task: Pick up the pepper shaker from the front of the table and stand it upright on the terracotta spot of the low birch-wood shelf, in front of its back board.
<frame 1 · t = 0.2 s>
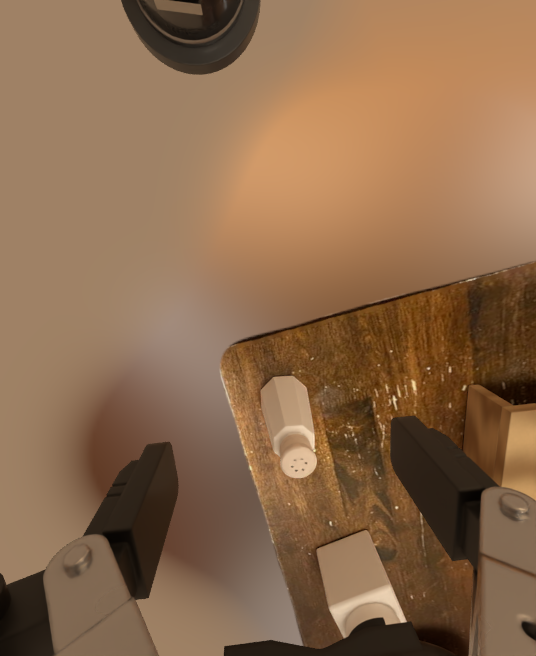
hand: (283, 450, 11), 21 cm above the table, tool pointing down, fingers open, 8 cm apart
medicine bottle: (349, 555, 41), on the table
pepper shaker: (283, 395, 34), on the table
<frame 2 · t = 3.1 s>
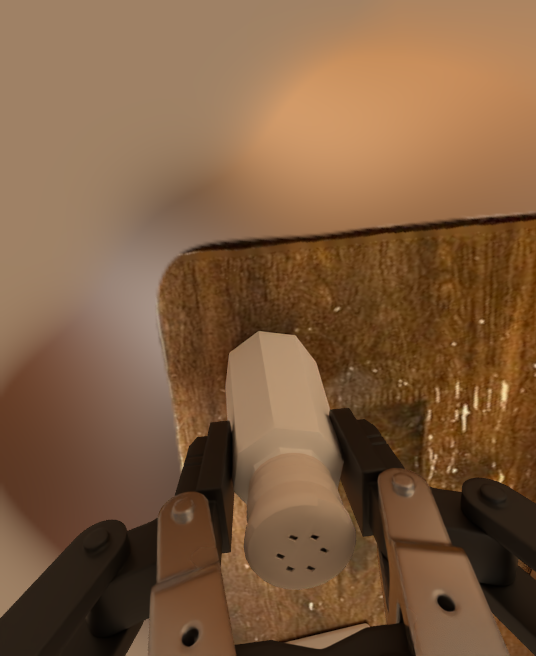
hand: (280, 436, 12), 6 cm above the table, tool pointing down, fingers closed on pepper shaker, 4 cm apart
pepper shaker: (270, 372, 18), on the table, touching gripper
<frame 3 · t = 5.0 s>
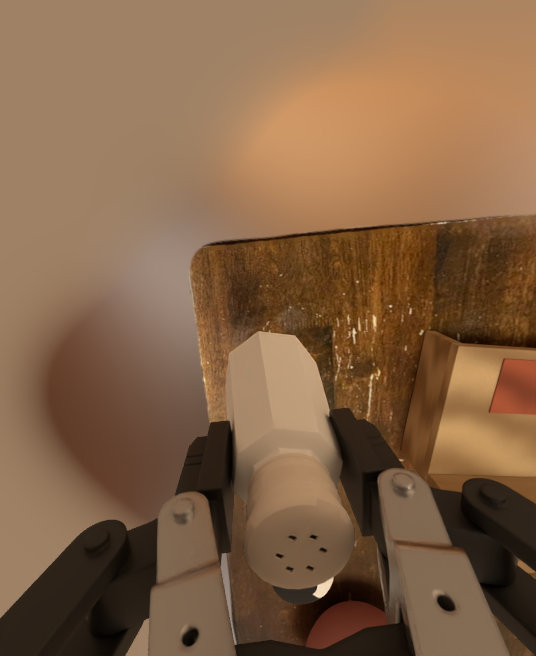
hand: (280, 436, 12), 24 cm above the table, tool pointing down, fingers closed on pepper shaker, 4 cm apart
shelf: (488, 396, 39), on the table
medicine bottle: (288, 490, 41), on the table
pepper shaker: (270, 372, 18), point 17 cm above the table, touching gripper
balloon: (358, 613, 48), on the table
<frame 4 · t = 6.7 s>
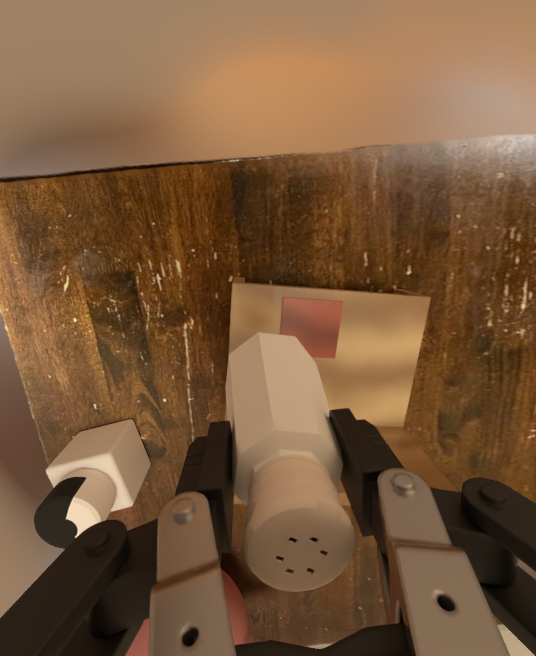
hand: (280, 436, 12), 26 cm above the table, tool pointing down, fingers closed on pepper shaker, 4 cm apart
shelf: (312, 348, 38), on the table
medicine bottle: (116, 446, 40), on the table
pepper shaker: (270, 373, 18), point 19 cm above the table, touching gripper
balloon: (212, 576, 47), on the table
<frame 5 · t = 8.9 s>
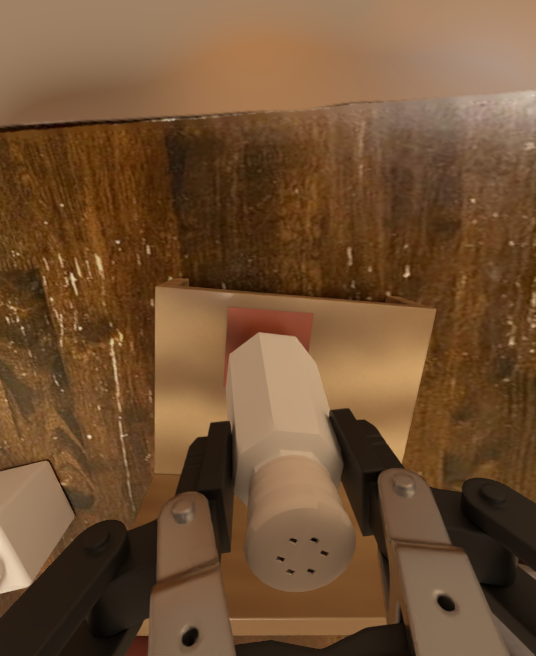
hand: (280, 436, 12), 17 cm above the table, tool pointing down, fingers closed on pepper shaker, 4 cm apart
shelf: (281, 371, 30), on the table
coffee pot: (457, 576, 38), on the table
medicine bottle: (30, 494, 32), on the table
pepper shaker: (270, 373, 18), point 10 cm above the table, touching gripper
balloon: (160, 649, 38), on the table
when the fingers open (12 cm above the table, at t = 10.4 s): pepper shaker stays where it is, resting on shelf.
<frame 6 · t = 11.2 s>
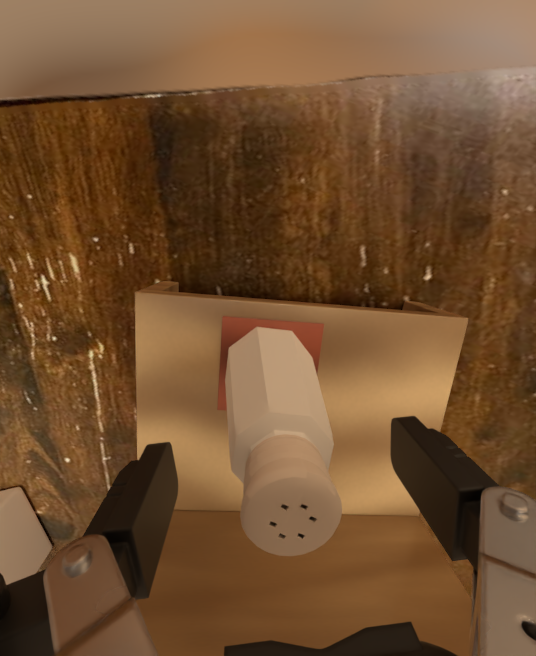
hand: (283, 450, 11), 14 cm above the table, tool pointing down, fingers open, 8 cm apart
shelf: (284, 386, 26), on the table
medicine bottle: (2, 523, 28), on the table
pepper shaker: (268, 366, 19), point 6 cm above the table, touching shelf
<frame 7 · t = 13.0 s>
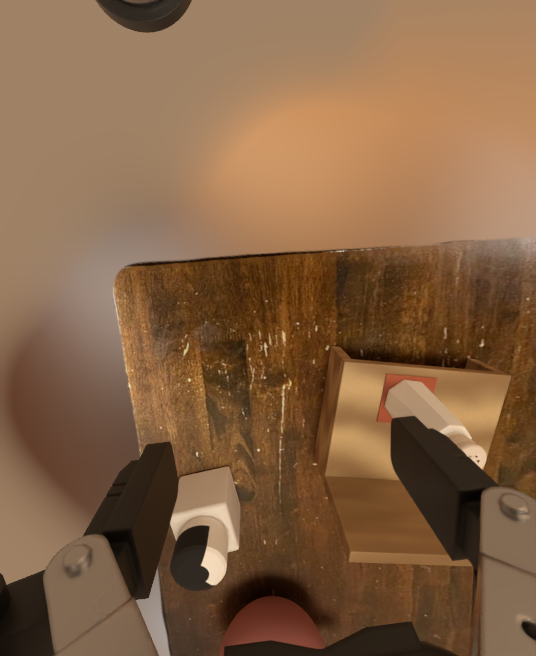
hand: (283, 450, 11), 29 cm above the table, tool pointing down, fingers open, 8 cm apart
shelf: (392, 407, 43), on the table
medicine bottle: (211, 490, 45), on the table
pepper shaker: (405, 399, 36), point 6 cm above the table, touching shelf
balloon: (282, 609, 51), on the table
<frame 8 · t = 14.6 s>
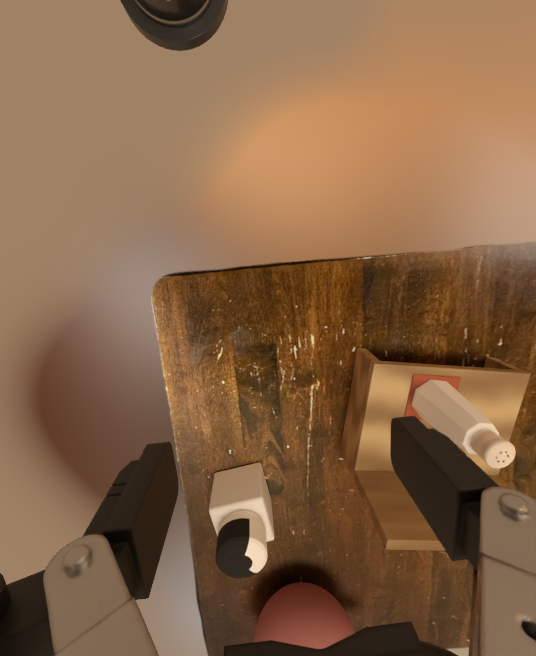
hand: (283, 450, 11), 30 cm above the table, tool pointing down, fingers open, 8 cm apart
shelf: (415, 404, 45), on the table
medicine bottle: (243, 484, 47), on the table
pepper shaker: (431, 397, 39), point 6 cm above the table, touching shelf
balloon: (309, 594, 54), on the table
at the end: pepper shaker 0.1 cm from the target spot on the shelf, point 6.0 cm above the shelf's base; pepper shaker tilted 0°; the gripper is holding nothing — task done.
